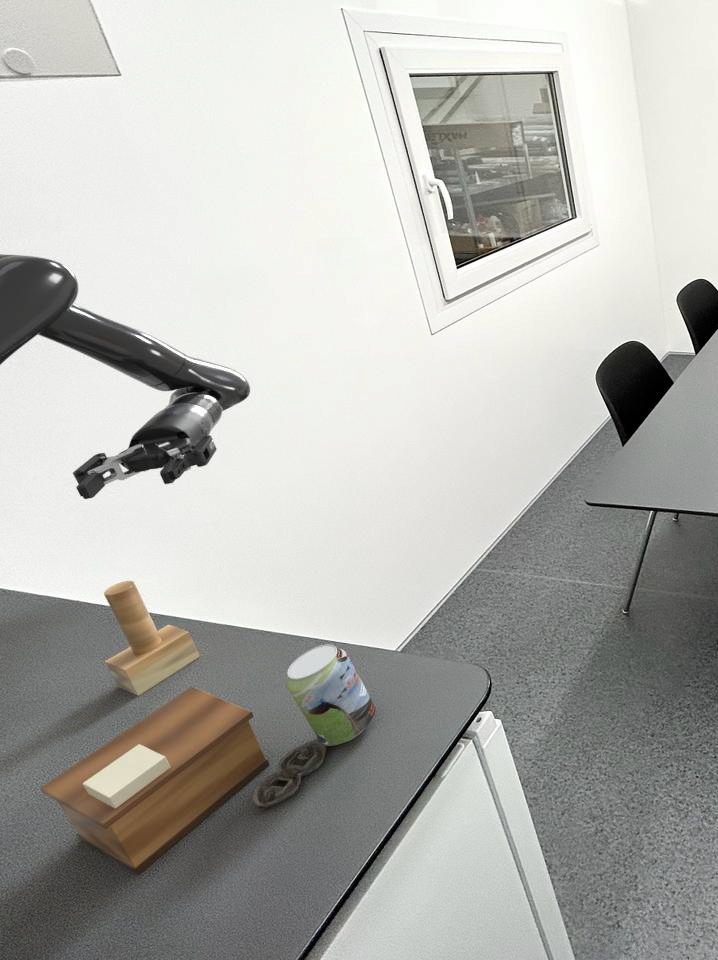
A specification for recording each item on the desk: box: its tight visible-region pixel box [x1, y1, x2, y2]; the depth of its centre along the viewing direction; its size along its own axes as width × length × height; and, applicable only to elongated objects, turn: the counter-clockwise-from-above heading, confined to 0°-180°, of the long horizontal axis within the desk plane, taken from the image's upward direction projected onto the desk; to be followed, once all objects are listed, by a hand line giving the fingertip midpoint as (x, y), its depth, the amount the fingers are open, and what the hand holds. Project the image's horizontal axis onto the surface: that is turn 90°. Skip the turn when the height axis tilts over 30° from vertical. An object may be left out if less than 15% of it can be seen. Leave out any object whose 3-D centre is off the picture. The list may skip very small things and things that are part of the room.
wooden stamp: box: [103, 580, 200, 697], centre depth 84 cm, size 4×7×15 cm, turn 161°
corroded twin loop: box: [252, 739, 327, 808], centre depth 72 cm, size 5×8×1 cm, turn 174°
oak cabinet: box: [39, 686, 270, 876], centre depth 69 cm, size 11×13×8 cm
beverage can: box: [286, 643, 376, 747], centre depth 76 cm, size 6×7×12 cm
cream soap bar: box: [83, 744, 171, 809], centre depth 64 cm, size 4×4×2 cm
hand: (125, 485), depth 87 cm, fingers open, 8 cm apart
